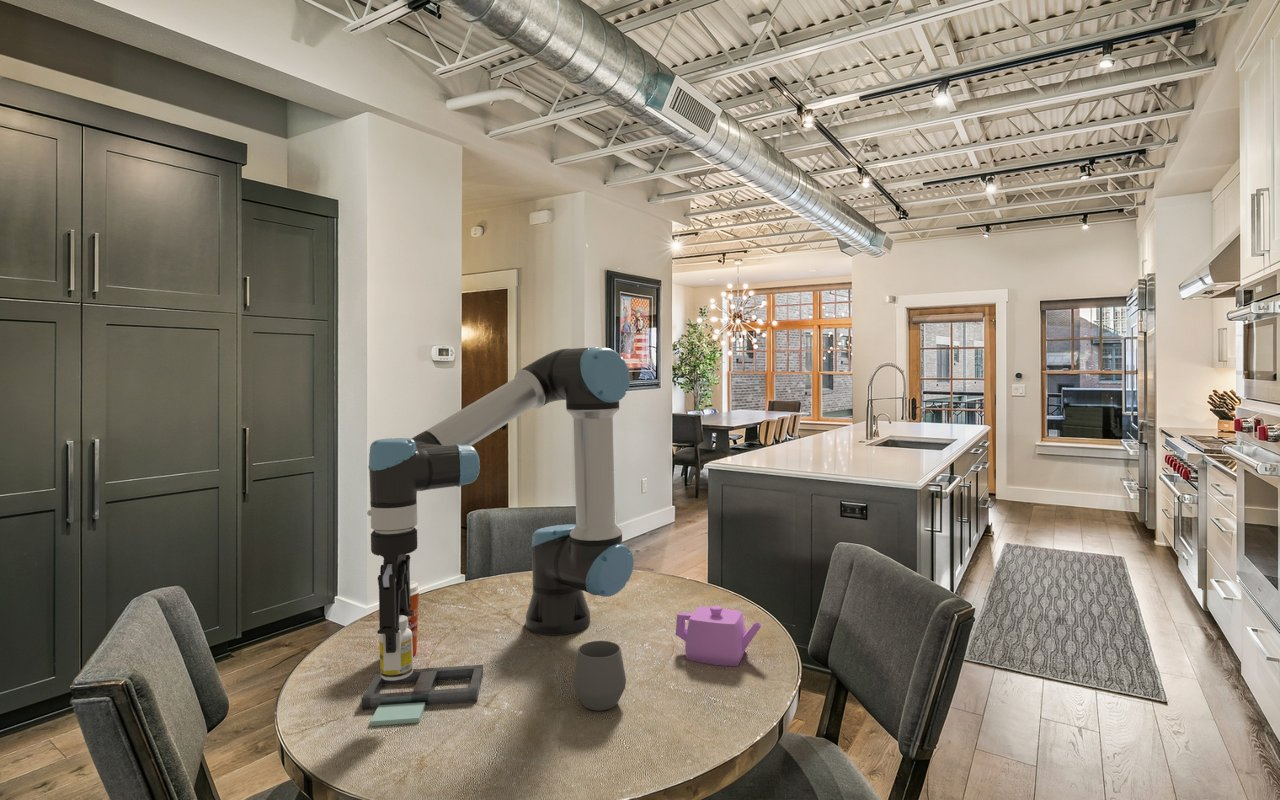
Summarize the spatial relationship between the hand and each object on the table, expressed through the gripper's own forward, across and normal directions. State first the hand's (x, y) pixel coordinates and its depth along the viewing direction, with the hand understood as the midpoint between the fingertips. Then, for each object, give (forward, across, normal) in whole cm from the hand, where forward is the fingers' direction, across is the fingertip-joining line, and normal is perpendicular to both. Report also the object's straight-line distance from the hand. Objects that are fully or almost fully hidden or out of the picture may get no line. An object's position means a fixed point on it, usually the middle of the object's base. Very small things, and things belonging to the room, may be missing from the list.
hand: (396, 661), depth 117 cm
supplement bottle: (+3, 0, 0) cm, 3 cm away
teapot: (+10, -16, +61) cm, 64 cm away
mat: (+10, 0, 0) cm, 10 cm away
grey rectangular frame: (+10, -9, +3) cm, 13 cm away
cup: (+10, +1, +35) cm, 36 cm away
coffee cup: (+10, -26, -5) cm, 29 cm away
